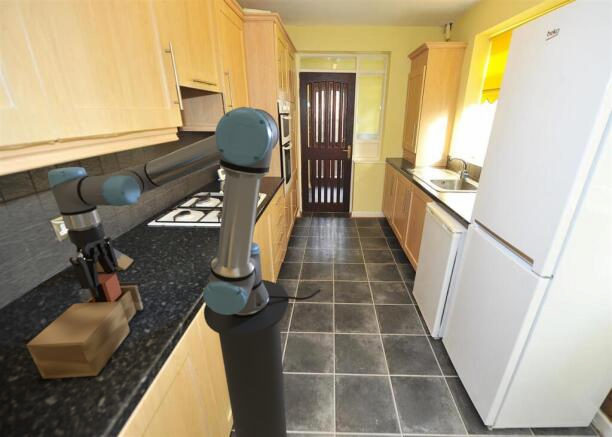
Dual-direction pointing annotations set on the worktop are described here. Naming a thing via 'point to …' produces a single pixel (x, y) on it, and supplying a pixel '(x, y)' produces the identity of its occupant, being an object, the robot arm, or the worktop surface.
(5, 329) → the worktop surface
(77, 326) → the tan rectangular box
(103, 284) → the block
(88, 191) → the robot arm
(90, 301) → the drawer
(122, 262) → the sandwich container
